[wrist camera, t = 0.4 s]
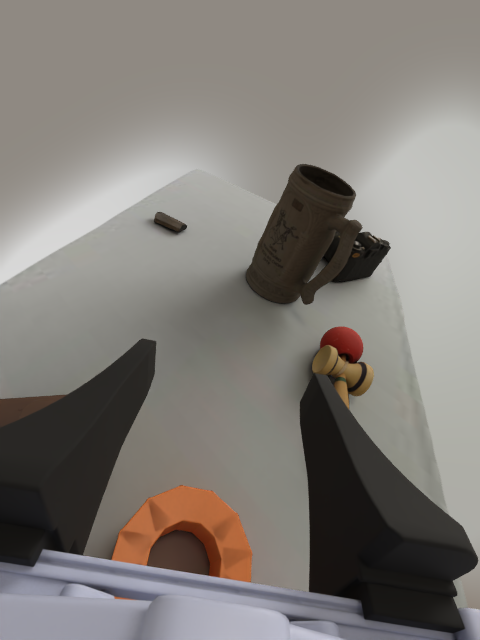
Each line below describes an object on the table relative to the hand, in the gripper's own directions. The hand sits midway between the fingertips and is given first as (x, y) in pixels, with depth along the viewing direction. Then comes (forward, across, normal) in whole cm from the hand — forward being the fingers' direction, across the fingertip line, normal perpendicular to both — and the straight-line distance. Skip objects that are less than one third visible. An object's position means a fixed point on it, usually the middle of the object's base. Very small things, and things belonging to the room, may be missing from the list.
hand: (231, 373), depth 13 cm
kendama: (+20, -16, +19) cm, 32 cm away
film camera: (+55, -22, +14) cm, 61 cm away
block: (+47, +15, +10) cm, 50 cm away
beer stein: (+38, -8, +15) cm, 42 cm away
